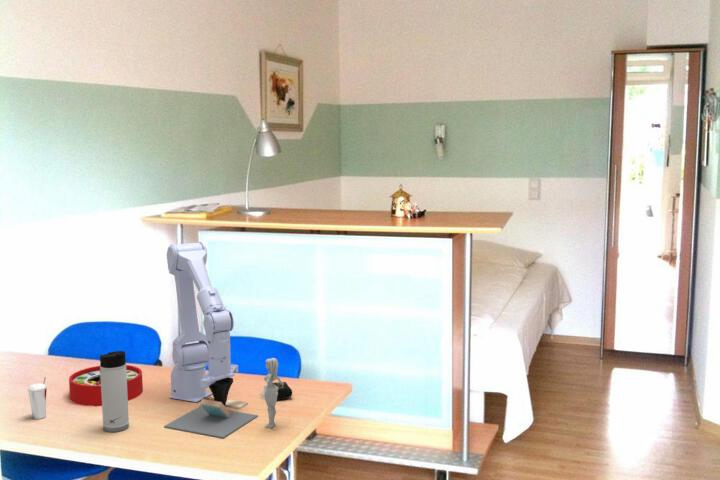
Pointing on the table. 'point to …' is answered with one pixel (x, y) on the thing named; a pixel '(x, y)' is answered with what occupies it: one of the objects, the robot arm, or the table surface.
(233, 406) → the turner
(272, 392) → the human figurine
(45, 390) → the milkshake
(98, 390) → the toy clock
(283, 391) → the tape measure
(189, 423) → the mat
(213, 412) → the tile
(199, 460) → the table surface
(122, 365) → the travel mug
